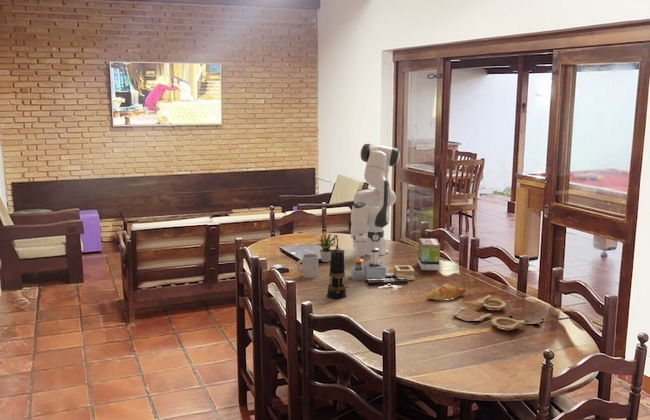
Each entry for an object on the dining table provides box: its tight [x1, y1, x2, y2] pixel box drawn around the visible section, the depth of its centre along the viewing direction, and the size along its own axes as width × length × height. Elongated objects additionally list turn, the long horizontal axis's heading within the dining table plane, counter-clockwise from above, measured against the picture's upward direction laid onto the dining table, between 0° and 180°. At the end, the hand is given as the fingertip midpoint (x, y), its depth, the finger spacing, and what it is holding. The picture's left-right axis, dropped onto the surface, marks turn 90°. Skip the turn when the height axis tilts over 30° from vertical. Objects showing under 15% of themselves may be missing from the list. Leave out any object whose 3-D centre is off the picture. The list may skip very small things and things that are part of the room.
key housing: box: [350, 266, 366, 281], centre depth 321 cm, size 7×7×5 cm
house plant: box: [315, 232, 336, 263], centre depth 350 cm, size 14×14×16 cm
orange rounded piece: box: [353, 258, 364, 270], centre depth 321 cm, size 5×5×9 cm
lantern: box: [326, 234, 349, 300], centre depth 291 cm, size 9×9×30 cm
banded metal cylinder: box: [370, 247, 380, 266], centre depth 321 cm, size 4×4×14 cm
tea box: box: [417, 238, 441, 271], centre depth 342 cm, size 15×10×15 cm, turn 179°
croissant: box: [426, 283, 466, 301], centre depth 293 cm, size 21×10×8 cm
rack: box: [393, 264, 416, 281], centre depth 323 cm, size 10×9×5 cm
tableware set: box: [452, 294, 525, 330], centre depth 268 cm, size 35×29×4 cm
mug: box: [296, 253, 319, 279], centre depth 323 cm, size 12×8×11 cm
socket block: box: [362, 261, 387, 281], centre depth 322 cm, size 10×10×7 cm
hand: (358, 259), depth 320 cm, fingers closed, pressing on orange rounded piece
